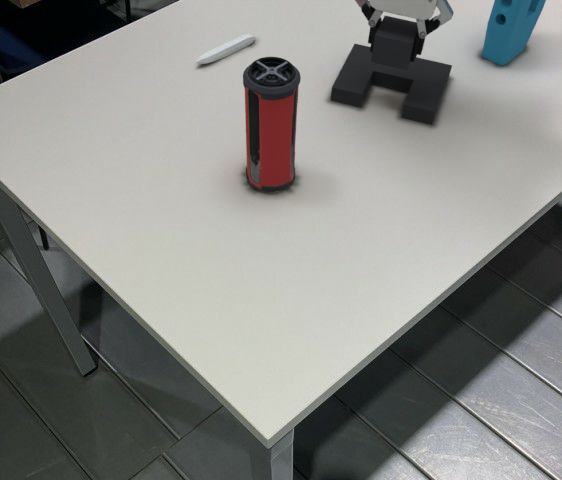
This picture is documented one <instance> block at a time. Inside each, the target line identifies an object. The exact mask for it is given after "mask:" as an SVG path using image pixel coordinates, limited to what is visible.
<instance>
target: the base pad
mask: <svg viewBox="0 0 562 480" xmlns="http://www.w3.org/2000/svg"><path fill="white" fill-rule="evenodd" d="M370 47H371V46H368V45H363V44H360V43H359V44H358V43H353V46H352V48H351V50H350V51H349V54H348V55H347V58H346V59H345V61H344V63H343V65H342V67H341V69H340V71H339V73H338V75H337V77H336V79H335V80H334V83H333V84H332V86H331V92H330V101H332V102H336V103H339V104H340V103H341V104H344V105H349V106H353V107H357V108H362V105H363V102H364V101H365V98H366V96H367V94H368V92H369V90H370V87H371V85H374V86H375V85H376V86H380V87H385V88H387V89H393V90H396V91H401V92H406V93H407V95H406V97H405V100H404V103H403V106H402V111H401V116H400V117H401V118H402V119H407V120H410V121H415V122H419V123H422V124H427V125H431V126H432V125H433V124H434V120H435V117H436V115H437V112H438V109H439V106H440V104H441V100H442V98H443V95H444V93H445V89H446V86H447V84H448V81H449V78H450V74H451V70H452V68H453V65H452V64H449V63H444V62H440V61H435V60H432V59H431V60H430V59H426V58H422V57H417V56H416V58H415V61H414V62H411V61H410V64H409V66H408V69H407V70H402V69H398V68H394V67H389V66H385V65H381V64H377V63H372V62H371V57H372V52H370Z"/></svg>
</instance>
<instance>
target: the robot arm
mask: <svg viewBox="0 0 562 480" xmlns="http://www.w3.org/2000/svg"><path fill="white" fill-rule="evenodd" d="M354 2H355V3H356V4H357V6H358V7H360V10H361V13H362V14H363V16H364V17H365V19H366V20H367V22H368V23H367V24H368V26H369V33H368V38H367V44H370V46H369V47H370V52H372V51H373V45H374V39H375V34H376V32H377V30H378V29H379V27H380V24H381V22H382V20H383V18H382V15H383V13H388V14H392V15H396V16H402V17H407V18H410V19H415V20H416V21H415V22H417V27H418V31H417V34H416V36H415V40H414V44H413V49H412V53H411V58H410V60H411V62H414V61H415V58H416V57H417V56H421V55H422V53H423V50H424V46H425V40H426V37H427V36H428V35H430V34H431V33H433V32H434V31H436V30H437V29H438V28H439V27H441V26H443V25H444V24H446V23H448V22H450V21H451V20H452V18H453V16H454V13H455V11H454V10H453V8H452V6H451V4H450V3H449V1H448V0H354ZM436 8H437V9H438V11H439V14H438V15H435V16H434V14H435V10H436ZM433 16H434V17H433Z"/></svg>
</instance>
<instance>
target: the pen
mask: <svg viewBox="0 0 562 480" xmlns="http://www.w3.org/2000/svg"><path fill="white" fill-rule="evenodd" d="M255 39H256V36H255V35H254V34H251V33H245V34H242V35H240V36H238V37H236V38H234V39H231V40H229V41H227V42H225V43H223V44H221V45H218V46H216V47H215V48H213V49H210V50H209V51H207V52H205V53H202V54H201V55H200V56H198V57H197V59H196V61H195V63H197V64H203V65H204V64H205V65H206V64H211V63H213V62H215V61H219V60H221V59H224V58H227V57H228V56H230V55H232V54H234V53H236V52H239V51H240V50H242V49H244V48H246V47H249V46H250V45H252V44H253V43H254V42H255Z"/></svg>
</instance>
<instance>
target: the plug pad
mask: <svg viewBox="0 0 562 480" xmlns="http://www.w3.org/2000/svg"><path fill="white" fill-rule="evenodd" d="M381 21H382V22H381V24H380V27H379V29H378V30H377V32H376V34H375V39H374V45H373V51H372V57H371V62H372V63H377V64H381V65H385V66H389V67H394V68H398V69H402V70H407V69H408V66H409V64H410V61H411V60H410V58H411V53H412V49H413V44H414V40H415V36H416V34H417V31H418V27H417V21H412V20H407V19H404V18H398V17H394V16H390V15H384V16H383V18H382V20H381Z"/></svg>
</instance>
